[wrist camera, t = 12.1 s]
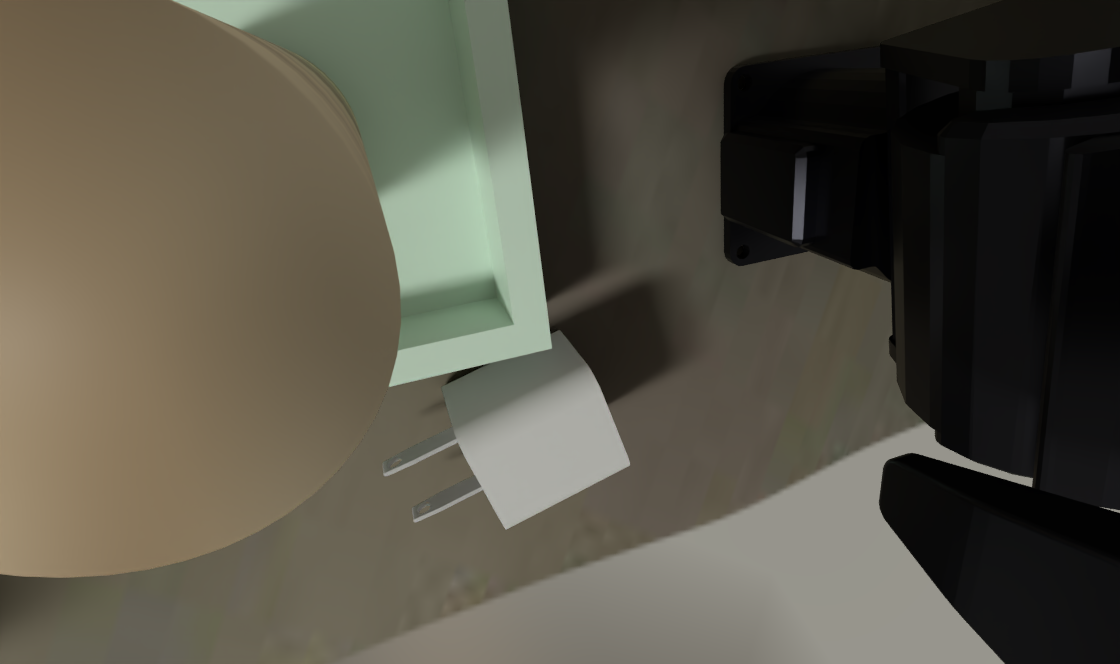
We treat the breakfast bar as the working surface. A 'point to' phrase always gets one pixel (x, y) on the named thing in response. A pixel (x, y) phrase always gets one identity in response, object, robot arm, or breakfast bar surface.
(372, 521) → the breakfast bar surface
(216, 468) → the beech dowel
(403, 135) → the pale green tray
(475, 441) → the usb wall charger
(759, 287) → the breakfast bar surface
